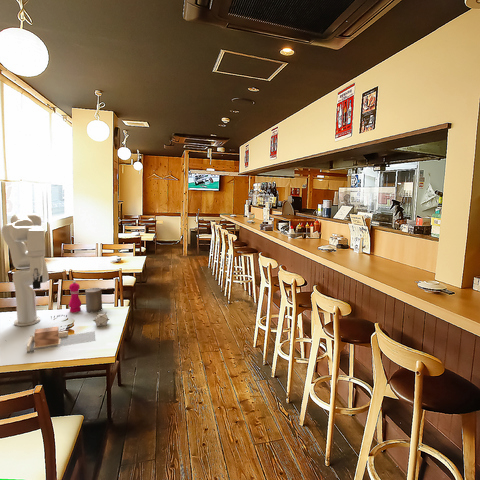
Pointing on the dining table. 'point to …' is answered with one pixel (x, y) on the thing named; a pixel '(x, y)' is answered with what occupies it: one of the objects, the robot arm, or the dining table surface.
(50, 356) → the dining table surface
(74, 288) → the pepper mill
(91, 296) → the pillar candle
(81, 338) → the board
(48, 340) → the block
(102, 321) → the grey spiky ball
